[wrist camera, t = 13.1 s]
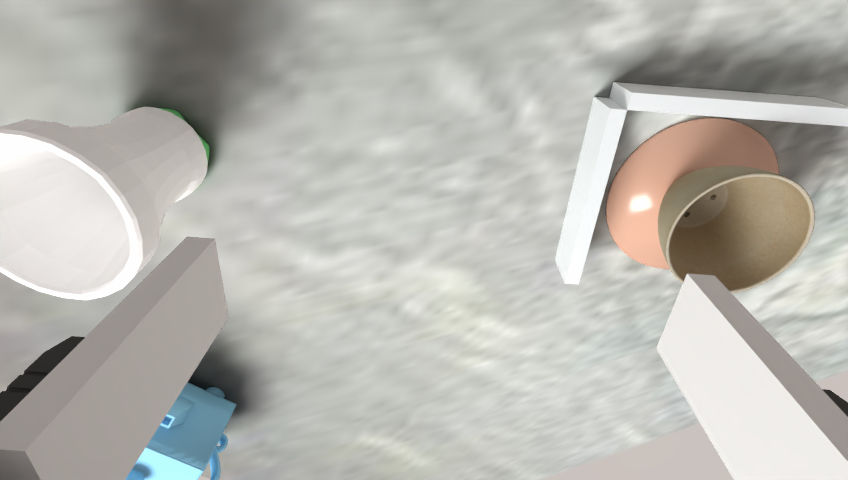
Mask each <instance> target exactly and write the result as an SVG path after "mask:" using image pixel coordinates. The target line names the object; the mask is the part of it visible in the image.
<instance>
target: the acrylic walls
mask: <svg viewBox="0 0 848 480" xmlns="http://www.w3.org/2000/svg"><path fill="white" fill-rule="evenodd" d="M627 110H634V111H648V112H661V113H674V114H688V115H701V116H714V117H728V118H741V119H755V120H768V121H781V122H795V123H808V124H821V125H835V126H848V106H846V105H843V104H839V103H836V102H833V101H829V100H826V99H822V98H819V97H806V96H793V95H779V94H766V93H753V92H739V91H726V90H713V89H699V88H686V87H673V86H659V85H646V84H633V83H619V82H613V85H612V89H611V93H610V97H609V98H604V97H594V99H593V103H592V107H591V111H590V115H589V120H588V124H587V128H586V132H585V136H584V140H583V145H582V149H581V153H580V157H579V161H578V165H577V170H576V174H575V178H574V182H573V186H572V190H571V195H570V199H569V203H568V207H567V211H566V216H565V220H564V224H563V228H562V232H561V236H560V241H559V245H558V249H557V253H556V257H555V261H556V263H557V266H558V268H559V270H560V273H561V275H562V278H563V280H564V282H565V284H579V282H580V278H581V275H582V271H583V267H584V264H585V260H586V257H587V253H588V249H589V246H590V242H591V239H592V235H593V231H594V228H595V224H596V221H597V217H598V213H599V210H600V206H601V202H602V199H603V195H604V192H605V188H606V184H607V181H608V177H609V174H610V170H611V166H612V163H613V159H614V156H615V152H616V148H617V145H618V141H619V138H620V134H621V130H622V127H623V123H624V120H625V116H626V112H627Z"/></svg>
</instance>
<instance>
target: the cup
mask: <svg viewBox="0 0 848 480" xmlns="http://www.w3.org/2000/svg"><path fill="white" fill-rule="evenodd" d="M209 151H210V148H209V145H208V143H206V142H205V141H204V140H203V139H202V138H201V137H200V136H199V135H198V134H197V133H196V132H195V131H194V129H193V128H192V127H191V126H190V125H189V124H188V123H187V122H186V121H185V120H184V118H183V117H182V116H181V114H180V113H179V112H177V111H175V110H172V109H164V108H153V107H141V108H137V109H134V110H131V111H128V112H126V113H124V114H122V115H120V116H118V117H117V118H115V119H113V120H112V121H111V122H110V123H108V124H104V125H99V126H94V127H70V126H66V125H63V124H60V123H57V122H47V121H37V120H23V121H20V122H16V123H13V124H9V125H6V126H2V127H0V272H2V273H4V274H5V275H7V276H8V277H10V278H12V279H13V280H15V281H17V282H19V283H21V284H24V285H26V286H28V287H30V288H32V289H35V290H37V291H39V292H43V293H47V294H51V295H55V296H59V297H62V298H70V299H80V300H90V299H95V298H100V297H104V296H108V295H110V294H112V293H114V292H116V291H118V290H120V289H122V288H124V287H125V286H126V285H127V284H128V283H129V282H130V280H131V279H132V278H133V277H134V276H135V275H136V274H137V273H138V272H139V271H140V270H141V269H142V268H143V267H144V266H145V265H146V264H147V263H148V262H149V261H150V260H151V259H152V257H153V255H154V253H155V251H156V249H157V247H158V245H159V243H160V240H161V224H162V221H163V218H164V216H165V214H166V212H167V211H168V210H169V208H170V207H171V206H172V205H173V204H174V203H175V202H176V201H178V200H180V199H182V198H184V197H186V196H188V195H189V194H191V193H192V192H193V191H194V190H195V189H196V188H197V187H198V186H199V185H201V183H202V182H203V180H204V178H205V176H206V174H207V165H208V159H209Z"/></svg>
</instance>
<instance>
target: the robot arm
mask: <svg viewBox="0 0 848 480" xmlns="http://www.w3.org/2000/svg"><path fill="white" fill-rule="evenodd" d="M228 318H229V317H228V311H227V305H226V300H225V294H224V288H223V283H222V277H221V271H220V266H219V260H218V254H217V249H216V243H215V239H211V238H198V237H186V238H185V239H184V240H183V241H182V242H181V243H180V244H179V245H178V246H177V247H176V248H175V249H174V250H173V251H172V252H171V253H170V254H169V255H168V256H167V257H166V258H165V259H164V260H163V261H162V262H161V263H160V264H159V265H158V266H157V267H156V268H155V269H154V270H153V271H152V272H151V273H150V274H149V275H148V276H147V277H146V278H145V279H144V280H143V281H142V282H141V283H140V284H139V285H138V286H137V287H136V288H135V289H134V290H133V291H132V292H131V293H130V294H129V295H128V296H127V297H126V298H125V299H124V300H123V301H122V302H121V303H120V304H119V305H118V306H117V307H116V308H115V309H114V310H113V311H112V312H111V313H110V314H109V315H108V316H107V317H105V318H104V319H103V320H102V321H101V322H100V323H99V324H98V325H97V326H96V327H95V328H94V329H93V330H92V331H91V332H90V333H89V334H88V335H87V336H86V337H74V336H72V337H70V338H68V339H66V340H65V341H63V342H61V343H59V344H58V345H56V346H54V347H53V348H51V349H49V350H47V351H46V352H44V353H43V354H42V355H41V356H40V357H39V358H38V359H37V360H36V361H35V362H34V363H32V364H31V365H30V366H29V367H28V368H27V369H26V370H25V371H24V374H23V375H19V376H18V377H17V378H16V379H15V380H14V381H13V382H12V383H11V384H10V385H9V386H8V387H7V390H6V391H2V392H1V393H0V480H125V479H126V477H127V476H128V474H129V473H130V471H131V470H132V468H133V466H134V465H135V463H136V462H137V460H138V459H139V457H140V456H141V454H142V452H143V451H144V449H145V448H146V446H147V445H148V443H149V441H150V440H151V438H152V437H153V435H154V434H155V432H156V431H157V429H158V427H159V426H160V424H161V423H162V421H163V420H164V418H165V416H166V415H167V413H168V412H169V410H170V409H171V407H172V405H173V404H174V402H175V401H176V399H177V398H178V396H179V395H180V393H181V391H182V390H183V388H184V387H185V385H186V384H187V382H188V380H189V379H190V377H191V376H192V374H193V373H194V371H195V369H196V368H197V366H198V365H199V363H200V362H201V360H202V359H203V357H204V355H205V354H206V352H207V351H208V349H209V348H210V346H211V344H212V343H213V341H214V340H215V338H216V337H217V335H218V333H219V332H220V330H221V329H222V327H223V326H224V324H225V323H226V321H227V319H228ZM656 349H657V351H658V353H659V354H660V356H661V358H662V359H663V361H664V363H665V364H666V366H667V368H668V369H669V371H670V373H671V374H672V376H673V378H674V380H675V381H676V383H677V385H678V386H679V388H680V390H681V391H682V393H683V395H684V396H685V398H686V400H687V402H688V403H689V405H690V407H691V408H692V410H693V412H694V413H695V415H696V417H697V418H698V420H699V422H700V423H701V425H702V427H703V428H704V430H705V432H706V434H707V435H708V437H709V439H710V440H711V442H712V443H713V445H714V447H715V449H716V450H717V452H718V454H719V456H720V457H721V459H722V461H723V462H724V464H725V465H726V467H727V469H728V471H729V472H730V474H731V476H732V477H733V479H734V480H848V403H847V402H846V401H845V400H843V399H842V398H840V397H839V396H838V395H836V394H835V393H833V392H832V391H830V390H823V389H821V388H820V387H819V386H818V385H817V384H816V383H815V382H814V380H813V379H812V378H811V377H810V376H809V375H808V374H807V373H806V372H805V371H804V370H803V369H802V368H801V367H800V366H799V365H798V364H797V362H796V361H795V360H794V359H793V358H792V357H791V356H790V355H789V354H788V353H787V352H786V351H785V350H784V349H783V348H782V347H781V345H780V344H779V343H778V342H777V341H776V340H775V339H774V338H773V337H772V336H771V335H770V334H769V333H768V332H767V331H766V330H765V328H764V327H763V326H762V325H761V324H760V323H759V322H758V321H757V320H756V319H755V318H754V317H753V316H752V315H751V314H750V313H749V312H748V310H747V309H746V308H745V307H744V306H743V305H742V304H741V303H740V302H739V301H738V300H737V299H736V298H735V297H734V296H733V295H732V293H731V292H730V291H729V290H728V289H727V288H726V287H725V286H724V285H723V284H722V283H721V282H720V281H719V280H718V279H717V278H716V277H715V275H701V274H687V275H686V277H685V280H684V282H683V285H682V287H681V290H680V292H679V294H678V297H677V299H676V302H675V304H674V307H673V309H672V311H671V314H670V316H669V319H668V321H667V324H666V326H665V329H664V331H663V333H662V336H661V338H660V341H659V343H658V346H657V348H656Z"/></svg>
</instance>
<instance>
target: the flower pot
mask: <svg viewBox="0 0 848 480" xmlns="http://www.w3.org/2000/svg"><path fill="white" fill-rule="evenodd" d="M712 195H714V196H712ZM688 213H689V215H688V216H687V214H688ZM814 223H815V210H814V206H813V202H812V200H811V198H810V196H809V195H808V193H807V192H806V191H805V189H804V188H803V187H802V186H800V185H799V184H798V183H796V182H795V181H793V180H791V179H789V178H786V177H784V176H781V175H779V174H776V173H773V172H769V171H766V170H761V169H756V168H751V167H743V166H716V167H708V168H704V169H699V170H696V171H693V172H691V173H688V174H686V175H684V176H682V177H681V178H679V179H678V180H676V181H675V182H674V183H673V184H672V185H671V186H670V187H669V189H668V190H667V192H666V193H665V195H664V197H663V199H662V202H661V205H660V209H659V215H658V235H659V241H660V245H661V249H662V252H663V255H664V257H665V260H666V262H667V264H668V266H669V268H670V270H671V272H672V273H673V274H674V276H675V277H676V278H677V279H678V280H679V281H680V282H681V283H683V282H684V280H685V277H686V275H687V274H701V275H715V277H716V278H717V279H718V280H719V281H720V282H721V283H722V284H723V285H724V286H725V287H726V288H727V289H728V290H729V291H730V292H731V293H736V292H741V291H745V290H748V289H751V288H754V287H757V286H759V285H762V284H763V283H766V282H768V281H769V280H771V279H773V278H774V277H776V276H777V275H779V274H780V273H782V272H783V271H784V270H785V269H787V268H788V267H789V266H790V265H791V264H792V263H793V262H794V261H795V260H796V259H797V258H798V257H799V255H800V254H801V253H802V252H803V250H804V249H805V248H806V246H807V244H808V242H809V240H810V238H811V235H812V232H813V229H814Z"/></svg>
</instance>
